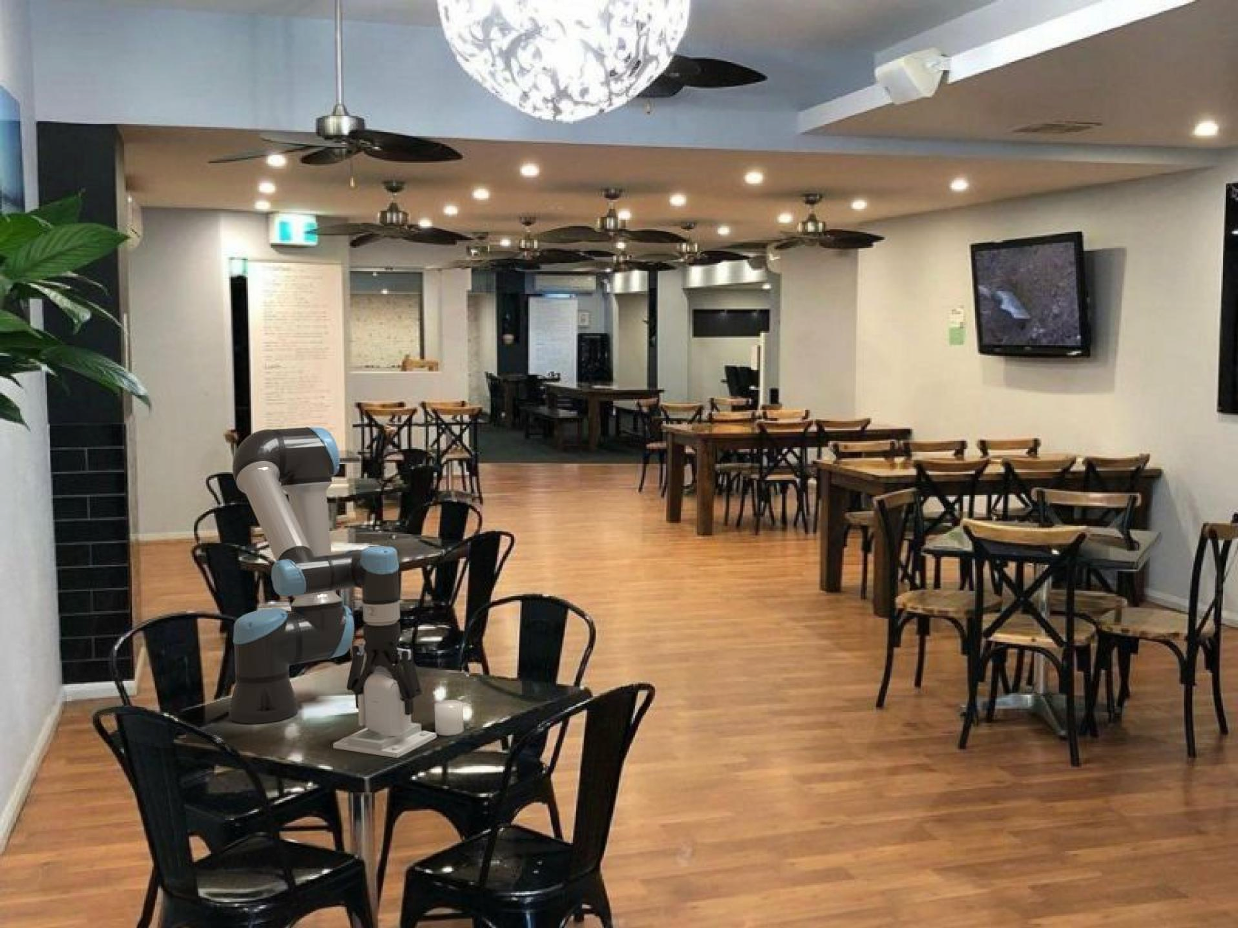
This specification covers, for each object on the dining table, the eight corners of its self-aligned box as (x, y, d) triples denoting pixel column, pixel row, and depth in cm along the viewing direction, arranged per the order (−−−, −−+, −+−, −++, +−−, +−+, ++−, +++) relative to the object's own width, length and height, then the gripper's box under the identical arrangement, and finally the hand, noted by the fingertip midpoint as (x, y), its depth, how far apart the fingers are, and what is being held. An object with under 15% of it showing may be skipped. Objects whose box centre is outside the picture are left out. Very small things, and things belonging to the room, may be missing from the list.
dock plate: (333, 747, 247) (332, 736, 246) (374, 728, 259) (374, 717, 259) (397, 757, 240) (396, 745, 240) (436, 737, 252) (436, 725, 252)
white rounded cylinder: (429, 733, 256) (429, 705, 255) (445, 725, 261) (444, 698, 260) (453, 736, 253) (452, 709, 252) (468, 728, 258) (468, 701, 258)
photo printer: (361, 728, 251) (360, 671, 250) (378, 723, 254) (377, 667, 253) (391, 738, 244) (389, 679, 243) (408, 733, 247) (406, 675, 246)
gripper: (326, 621, 249) (330, 725, 250) (416, 629, 239) (419, 738, 241) (349, 614, 255) (352, 715, 257) (437, 622, 246) (440, 727, 248)
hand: (385, 726), depth 249 cm, fingers closed on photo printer, 10 cm apart
